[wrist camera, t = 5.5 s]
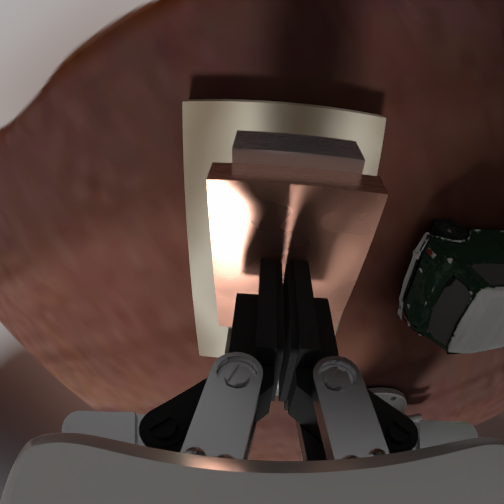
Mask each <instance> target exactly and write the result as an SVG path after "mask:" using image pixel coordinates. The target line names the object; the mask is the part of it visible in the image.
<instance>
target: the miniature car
mask: <svg viewBox="0 0 504 504" xmlns="http://www.w3.org/2000/svg"><path fill="white" fill-rule="evenodd" d="M428 234H429V232H426V233H425V234H424V235H423V237H422V239H421V241H420V242H419V244H418V246H417V247H416V249H414V250H413V257H412V260H411V262H410V265H409V268H408V271H407V273H406V276H405V278H404V282H403V286H402V289H401V293H400V297H399V302H400V304H399V309H398V313H397V314H398V315H399V316H400V320H402V309H404V313H405V317H404V322H405V324H406V325H407V324H408V326H411V328H412V329H413V330H414V331H416V332H418V335H420V336H423V335H424V336H426V337H428V338H429V339H431V340H432V341H433V342H435V343H436V344H437V345H439V346H440V347H442V348H443V349H444V350H446V351H447V354H458V353H468V354H470V353H475V352H480V351H485V350H490V349H495V348H499V347H504V231H496V230H478V229H470V233H469V238H467V239H466V237H467V234H468V232H467V231H466V230H465V229H464V228H463V227H462V226H461V225H460V224H459V223H456V222H454V221H451V220H449V219H434V222H433V226H432V231H431V235H430V234H429V236H428V237H427V235H428ZM426 237H427V238H426ZM429 237H430V238H429ZM425 238H426V239H425ZM424 240H425V241H424ZM416 259H417V262H416V265H415V268H414V270H413V267H414V264H415V261H416ZM412 270H413V273H412ZM411 273H412V276H411ZM410 276H411V279H410V282H409V285H408V287H407V284H408V281H409V278H410ZM406 287H407V291H406V295H405V299H404V303H403V296H404V293H405V289H406Z"/></svg>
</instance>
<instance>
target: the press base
mask: <svg viewBox="0 0 504 504" xmlns="http://www.w3.org/2000/svg"><path fill="white" fill-rule="evenodd" d="M385 124H386V118H385V117H383V116H381V115H378V114H373V113H367V112H361V111H355V110H349V109H342V108H335V107H328V106H320V105H311V104H302V103H291V102H279V101H264V100H241V99H188V100H186V101H183V156H184V182H185V202H186V219H187V234H188V248H189V260H190V272H191V283H192V293H193V303H194V313H195V322H196V331H197V339H198V347H199V355H200V356H210V357H220V356H222V355H224V354H227V353H229V346H230V338H231V331H232V327H226V326H219V322H218V312H217V303H216V293H215V282H214V272H213V260H212V249H211V237H210V224H209V211H208V197H207V182H206V179H207V176H208V173H209V170H210V168H211V165H212V162H219V163H232V147H233V143H234V140H235V136H236V133H237V130H240V131H261V132H276V133H289V134H300V135H310V136H320V137H328V138H336V139H344V140H351V141H356V142H357V144H358V146H359V148H360V150H361V152H362V154H363V156H364V158H365V165H364V169H363V173H362V174H364V175H372V176H377V172H378V167H379V161H380V156H381V150H382V144H383V138H384V131H385ZM341 316H342V315H341ZM340 319H341V317H340ZM340 319H339V322H340ZM339 322H338V324H337V326H336V328H335V330H334V332H335V335H336V332H337V329H338V325H339Z"/></svg>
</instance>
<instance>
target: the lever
mask: <svg viewBox="0 0 504 504" xmlns="http://www.w3.org/2000/svg"><path fill="white" fill-rule="evenodd" d="M364 165H365V158H364V156H363V154H362V152H361V150H360V148H359V146H358V144H357V142H356V141H351V140H344V139H336V138H328V137H320V136H310V135H300V134H289V133H276V132H261V131H240V130H237V133H236V136H235V140H234V143H233V147H232V163H219V162H212V165H211V168H210V170H209V173H208V176H207V179H206V182H207V197H208V211H209V224H210V237H211V249H212V260H213V272H214V282H215V293H216V303H217V312H218V322H219V326H226V327H232V324H233V316H234V309H235V302H236V295H237V293H244V294H258V291H259V277H260V263H261V258H271V259H276V263H282V276H283V284H284V276H285V268H286V264H292V260H303V261H308V263H309V269H310V276H311V282H312V288H313V295H314V298H327V299H328V301H329V306H330V311H331V316H332V322H333V327H334V330H335V328H336V326H337V324H338V322H339V319H340V317H341V315H342V313H343V310H344V308H345V306H346V304H347V301H348V299H349V297H350V294H351V292H352V290H353V287H354V285H355V283H356V280H357V278H358V275H359V273H360V270H361V268H362V265H363V263H364V260H365V258H366V255H367V253H368V250H369V248H370V245H371V242H372V240H373V237H374V234H375V231H376V229H377V226H378V223H379V220H380V217H381V215H382V212H383V209H384V206H385V203H386V200H387V197H388V193H387V191H386V189H385V187H384V184H383V182H382V180H381V178H380V177H379V176H372V175H364V174H362V173H363V169H364ZM275 396H279V380H278V385H277V390H276V395H275Z"/></svg>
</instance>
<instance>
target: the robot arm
mask: <svg viewBox="0 0 504 504" xmlns="http://www.w3.org/2000/svg"><path fill="white" fill-rule="evenodd" d="M278 380H279V401H284V410H288V414H289V415H290V416H291V417H293V418H294V419H295V420H296V429H297V433H298V438H299V443H300V448H301V454H302V459H303V461H258V460H248V457H249V453H250V449H251V445H252V441H253V437H254V432H255V428H256V424H257V421H259V420H260V419H261V418H263V417H264V416H265V415H267V414H268V413H269V408H270V403H271V401H274V400H275V395H276V390H277V385H278ZM406 406H407V403H406V398H405V396H404V394H403V393H402V392H401V391H399V390H396V389H393V388H385V387H377V388H366V385H365V383H364V380H363V377H362V375H361V372H360V370H359V369H358V367H357V365H355V364H354V363H353V362H352V361H351V360H349V359H347V358H345V357H341V356H339V355H338V349H337V344H336V338H335V332H334V327H333V322H332V316H331V311H330V306H329V301H328V299H327V298H314V295H313V288H312V282H311V276H310V269H309V263H308V261H303V260H292V264H286V268H285V276H284V284H283V276H282V263H276V259H271V258H261V263H260V277H259V291H258V294H244V293H237V295H236V302H235V309H234V316H233V324H232V331H231V338H230V346H229V353H227V354H224V355H222V356H220V357H219V358H218V359H217V360H216V361H215V362H214V364H213V365H212V367H211V370H210V373H209V376H208V378H206V379H205V380H203V381H201V382H200V383H198V384H196V385H195V386H193V387H191V388H190V389H188V390H186V391H185V392H183V393H181V394H179V395H178V396H176V397H174V398H173V399H171V400H169V401H167V402H166V403H164V404H162V405H160V406H158V407H157V408H155V409H153V410H151V411H150V412H148V413H147V414H146V415H136V413H135V412H97V411H75V412H73V413H71V414H69V415H68V416H67V417H66V419H65V420H64V423H63V426H62V433H53V434H46V435H42V436H38V437H36V438H33V439H32V440H30V441H29V442H28V443H27V444H26V445H25V446H24V448H23V449H22V450H21V452H20V453H19V455H18V457H17V459H16V461H15V463H14V465H13V467H12V469H11V472H10V474H9V477H8V479H7V483H6V485H5V488H4V491H3V494H2V497H1V501H0V504H504V440H501V439H496V438H487V437H484V438H478V434H477V431H476V429H475V428H474V426H472V425H471V424H469V423H466V422H451V421H432V420H422V415H421V414H420V413H419V414H413V415H409V416H407V415H406V414H405V413H404V411H405V409H406Z"/></svg>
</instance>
